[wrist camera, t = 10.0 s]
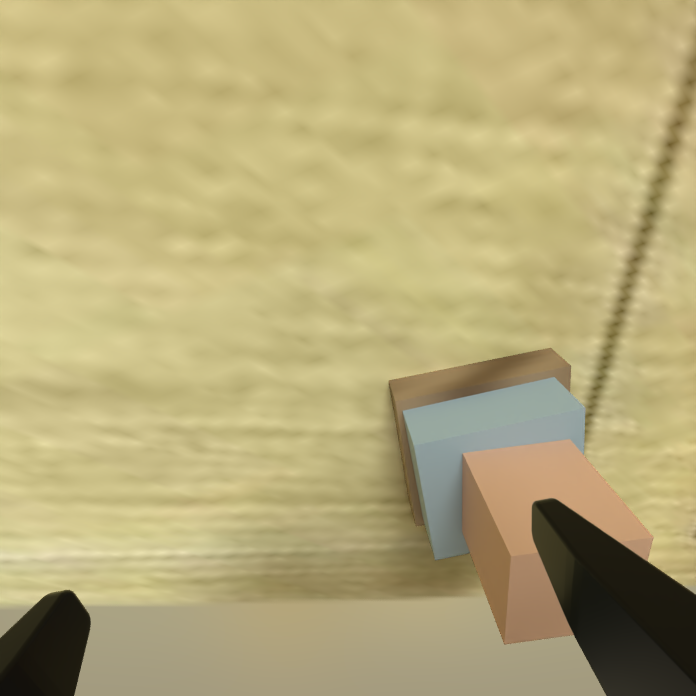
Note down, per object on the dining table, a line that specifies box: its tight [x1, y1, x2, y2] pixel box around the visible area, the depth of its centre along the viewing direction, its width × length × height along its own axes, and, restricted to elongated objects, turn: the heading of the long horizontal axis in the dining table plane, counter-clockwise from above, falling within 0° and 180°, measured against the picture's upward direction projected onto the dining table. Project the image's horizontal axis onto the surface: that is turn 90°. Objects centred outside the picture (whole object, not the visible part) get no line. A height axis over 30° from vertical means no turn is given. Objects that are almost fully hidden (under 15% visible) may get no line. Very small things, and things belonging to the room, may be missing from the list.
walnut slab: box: [389, 348, 571, 526], centre depth 23 cm, size 8×8×2 cm
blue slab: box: [403, 377, 585, 560], centre depth 20 cm, size 7×7×2 cm
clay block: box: [462, 439, 654, 644], centre depth 17 cm, size 4×4×5 cm
